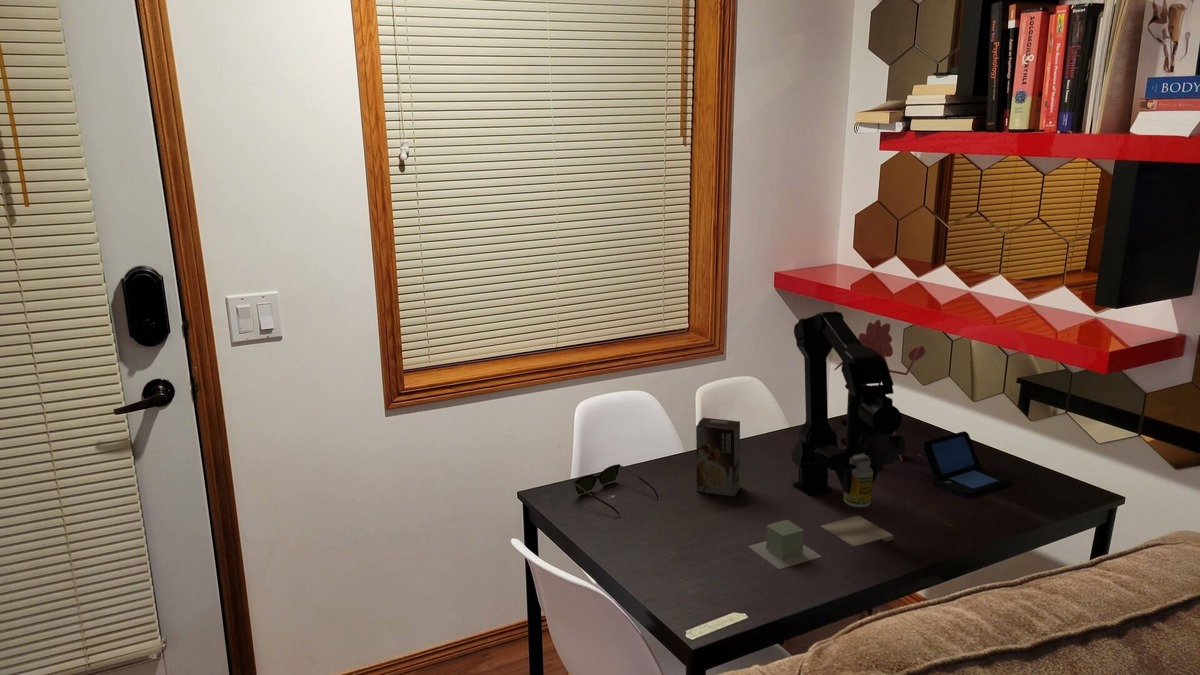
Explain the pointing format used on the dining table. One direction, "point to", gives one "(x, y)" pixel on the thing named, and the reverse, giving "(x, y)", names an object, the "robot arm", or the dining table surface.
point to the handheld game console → (960, 466)
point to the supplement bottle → (860, 483)
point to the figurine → (885, 346)
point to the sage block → (784, 539)
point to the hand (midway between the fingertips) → (857, 490)
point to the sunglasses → (601, 481)
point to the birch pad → (857, 531)
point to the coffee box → (718, 456)
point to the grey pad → (777, 562)
